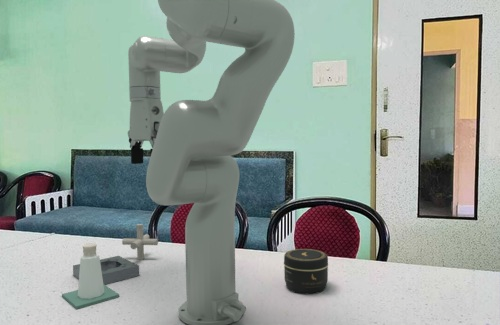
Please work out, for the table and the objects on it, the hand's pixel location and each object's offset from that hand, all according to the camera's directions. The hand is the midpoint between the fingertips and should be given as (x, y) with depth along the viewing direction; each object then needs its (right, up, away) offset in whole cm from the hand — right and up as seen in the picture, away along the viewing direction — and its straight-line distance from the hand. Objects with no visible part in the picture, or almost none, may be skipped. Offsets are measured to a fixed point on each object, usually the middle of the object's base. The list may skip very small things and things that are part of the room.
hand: (146, 164), depth 98 cm
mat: (-9, -29, -13) cm, 33 cm away
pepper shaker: (-9, -29, -13) cm, 33 cm away
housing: (-10, -28, 0) cm, 30 cm away
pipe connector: (-6, -28, +14) cm, 31 cm away
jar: (+39, -28, -9) cm, 49 cm away
